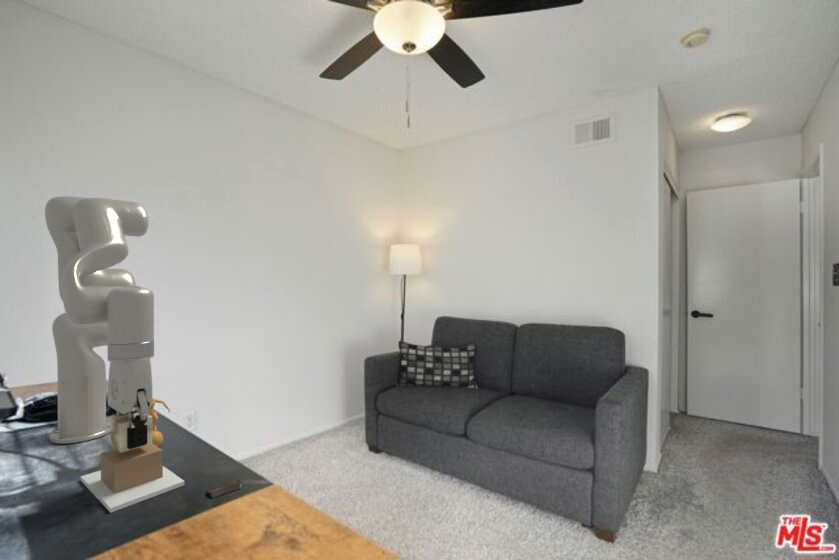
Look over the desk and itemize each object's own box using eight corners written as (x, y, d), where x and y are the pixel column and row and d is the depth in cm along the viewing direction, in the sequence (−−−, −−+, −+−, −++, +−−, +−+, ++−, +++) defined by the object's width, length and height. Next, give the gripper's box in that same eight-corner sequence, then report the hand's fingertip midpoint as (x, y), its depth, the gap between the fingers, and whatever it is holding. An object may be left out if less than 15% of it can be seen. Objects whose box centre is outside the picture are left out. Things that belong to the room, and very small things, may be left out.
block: (205, 500, 78) (204, 490, 78) (236, 485, 83) (235, 476, 83) (213, 504, 76) (212, 494, 76) (245, 489, 80) (244, 480, 80)
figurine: (135, 456, 94) (134, 403, 93) (127, 448, 98) (126, 397, 97) (175, 444, 100) (175, 395, 100) (166, 438, 104) (166, 390, 104)
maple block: (110, 445, 81) (110, 417, 81) (142, 436, 85) (142, 410, 85) (120, 452, 78) (120, 424, 78) (152, 443, 82) (152, 416, 82)
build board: (80, 480, 83) (80, 449, 82) (148, 459, 92) (148, 431, 92) (110, 512, 72) (110, 477, 71) (184, 485, 81) (184, 453, 81)
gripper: (94, 348, 84) (95, 437, 84) (124, 359, 73) (124, 461, 73) (137, 343, 90) (137, 427, 90) (170, 353, 79) (170, 447, 79)
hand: (131, 441), depth 82 cm, fingers closed on maple block, 5 cm apart
